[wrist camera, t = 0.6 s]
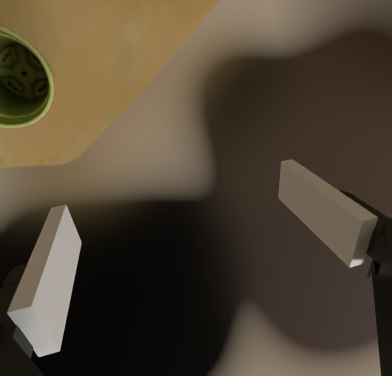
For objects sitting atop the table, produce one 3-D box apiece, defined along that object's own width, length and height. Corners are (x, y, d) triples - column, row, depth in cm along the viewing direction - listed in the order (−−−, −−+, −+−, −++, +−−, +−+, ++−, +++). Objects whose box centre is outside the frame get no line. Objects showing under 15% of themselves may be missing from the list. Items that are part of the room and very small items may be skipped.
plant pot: (11, 7, 29) (-26, -6, 22) (83, 74, 34) (73, 82, 27) (-37, 69, 31) (-88, 77, 23) (38, 125, 36) (16, 146, 28)
